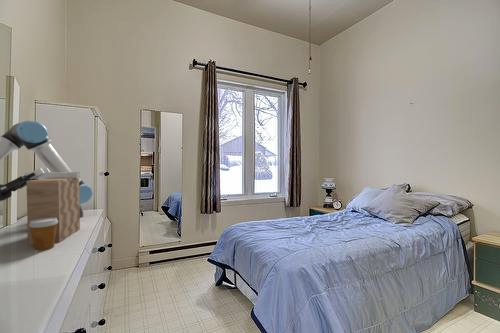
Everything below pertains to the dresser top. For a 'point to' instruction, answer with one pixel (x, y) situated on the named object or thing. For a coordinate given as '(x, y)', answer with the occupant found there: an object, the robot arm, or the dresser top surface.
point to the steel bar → (57, 175)
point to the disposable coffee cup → (43, 233)
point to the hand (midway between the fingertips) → (45, 170)
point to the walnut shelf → (54, 205)
